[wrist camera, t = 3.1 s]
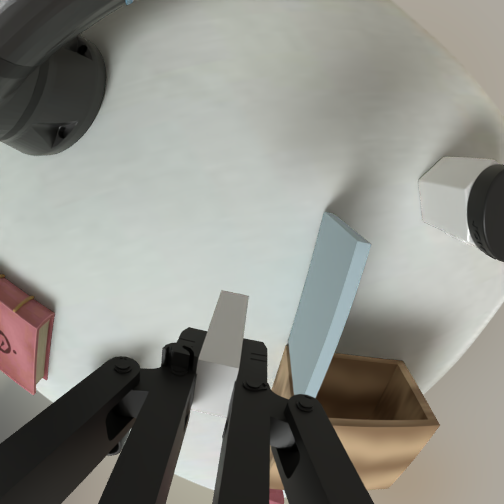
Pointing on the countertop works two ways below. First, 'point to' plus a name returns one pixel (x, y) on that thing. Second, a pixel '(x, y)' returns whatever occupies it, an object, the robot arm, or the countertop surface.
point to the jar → (466, 201)
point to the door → (325, 302)
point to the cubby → (368, 415)
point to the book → (24, 336)
